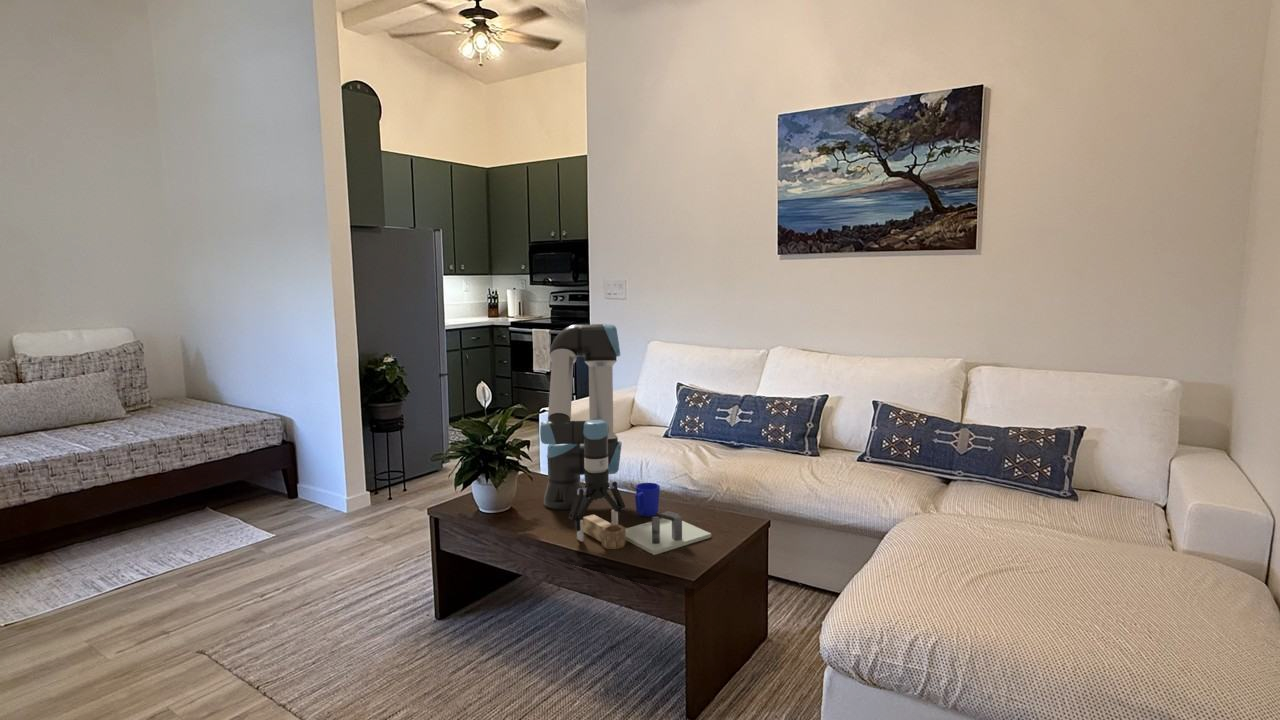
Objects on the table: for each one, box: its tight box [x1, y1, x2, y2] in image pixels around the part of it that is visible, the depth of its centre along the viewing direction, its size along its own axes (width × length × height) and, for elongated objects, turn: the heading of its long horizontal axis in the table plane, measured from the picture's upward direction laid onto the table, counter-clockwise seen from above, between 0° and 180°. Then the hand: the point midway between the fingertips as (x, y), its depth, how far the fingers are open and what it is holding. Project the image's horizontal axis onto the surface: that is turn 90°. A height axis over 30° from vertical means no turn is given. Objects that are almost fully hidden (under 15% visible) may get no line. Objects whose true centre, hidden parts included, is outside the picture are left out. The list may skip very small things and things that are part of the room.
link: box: [582, 514, 627, 550], centre depth 217 cm, size 18×7×5 cm, turn 36°
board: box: [625, 518, 712, 556], centre depth 219 cm, size 20×22×1 cm
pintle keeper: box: [651, 510, 683, 544], centre depth 213 cm, size 7×10×9 cm
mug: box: [634, 482, 661, 518], centre depth 237 cm, size 8×12×10 cm
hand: (597, 535), depth 220 cm, fingers open, 12 cm apart
